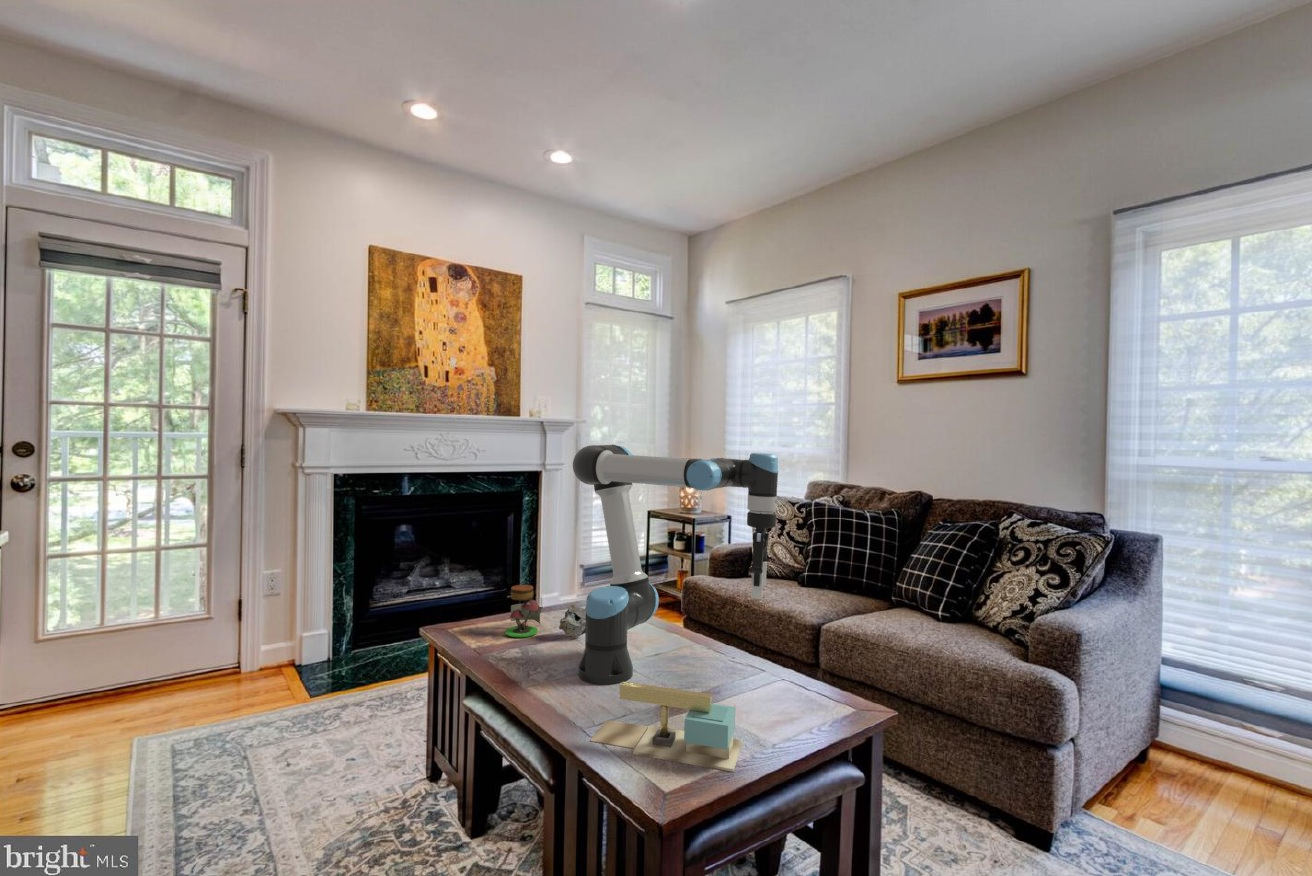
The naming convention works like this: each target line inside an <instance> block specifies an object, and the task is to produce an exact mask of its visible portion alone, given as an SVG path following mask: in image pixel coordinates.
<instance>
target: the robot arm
mask: <svg viewBox="0 0 1312 876" xmlns="http://www.w3.org/2000/svg"><path fill="white" fill-rule="evenodd" d="M778 464H779V461H778V456H777V455H776V454H775V453H764V452H763V453H762V452H751V453H750V454H749V458H748V459H736V458H724V457H716V458H715V457H712V458H710V459H701V458H699V459H697V458H682V457H681V458H680V457H668V456H666V457H665V456H651V455H633V453H632V452H631V451H630V450H629V449H628V448H626V447H624V446H622V445H617V444H599V445H597V444H590V445H587V446H584V447H582V448H581V449H579V450H578V451H577V452H576V453H575V456H574V458H573V460H572V470H573V473H574V475H575V477H576V478H577V479H578V480H579V481H580V482H581V483H584V484H585V485H590V486H593V489H594V493H595V494H597V495H598V496H599V497H600V501H601V506H602V507H601V508H602V512H603V513H602V514H603V519H604V525H605V531H606V538H607V545H608V549H609V550H608V551H609V554H610V555H609V556H610V563H611V569H612V574H613V575H612V578H611V580H610V581H609V585H608V586H607V585H606V586H604V587H603V586H601V587H597V588H595V589H593V590H592V591H590V592H589V593H588V594H587V596H586V601H585V602H586V603H585V608H584V609H585V611H586V630H585V633H584V634H585V636H584V638H585V641H584V642H585V643H584V650H583V652H582V656H581V659H580V662H579V664H578V671H577V675H578V678H579V680H580V681H583V682H584V683H586V684H587V683H588V684H590V685H595V686H612V685H613V686H615V685H620V684H621V683H622V682H623V681H624V682H629V681H630V679H632V677H633V674H634V666H633V664H632V660H631V655H630V653H629V649H628V630H630V629H632V628H634V627H636V626H639V625H641V624H642V625H643V624H644V623H646V622H647V621H648V620H649V619H651V618H652V617H653V616H655V614H656V612H657V611H658V608H659V602H660V601H659V600H660V598H659V594H658V591H657V589H656V587H655V586H653V584H652V583H651V582H650V581H649V580H650V579H649V576H648V574H646V573H645V572H644V571H643V570H642V564H641V557H640V552H639V545H638V539H637V534H636V527H635V522H634V517H633V510H632V504H631V499H630V491H631V489H632V487H633V484H643V485H652V486H653V485H655V486H664V487H665V486H667V487H677V488H689V489H695V490H697V491H711V490H714V489H721V488H727V487H728V488H729V487H732V488H744V489H745V488H746V489H747V491H748V492H747V504H746V505H747V506H746V507H747V508H746V509H747V510H749V511H748V512H747V515H746V517H747V518H746V525H747V526H748V527H751V528H755V531H754V532H753V533H752V541H753V542H752V558H751V559H752V560H751V568H749V569H748V573H751V583H750V584H751V586H750V599H758V600H762V599H763V587H766V586H767V568H768V567H767V565H768V564H767V563H768V562H770V557H768V544H769V538H770V533H768V529H774V528H775V527H776V525H777V514H776V513H775V512H776V511H777V504H780V501H779V500H778V499H777V497H778V479H779V478H778V476H779V465H778Z"/></svg>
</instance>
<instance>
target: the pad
mask: <svg viewBox="0 0 1312 876" xmlns="http://www.w3.org/2000/svg"><path fill="white" fill-rule="evenodd" d="M648 728H649V726H646V725H641V724H636V723H635V724H634V723H629V722H628V723H627V722H622V721H616V720H610V719H606V720H605V722H604V723H603V724H602V725H601V727H599V729H598V730H597V732H596V733H595V734H594V735H593V736H592V737H591V738H590V739H589V742H591V743H592V742H593V743H598V744H603V745H608V746H615V747H620V748H625V749H631V750H634V749H635V748H636V746H637V745H638V743H639V742H640V740H641V738H642V737H643V735H644V734H645V732H646V731H647V729H648Z"/></svg>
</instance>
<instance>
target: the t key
mask: <svg viewBox="0 0 1312 876" xmlns="http://www.w3.org/2000/svg"><path fill="white" fill-rule="evenodd" d="M619 699H621V700H626V701H633V702H638V703H645V704H652V705H659V706H660V727H661V736H660V737H662V738H668V728H669V707H672V708H679V709H683V710H684V709H685V710H697V711H703V712H710V711H711V709H712V704H713V703H712V702H713V693H705V692H700V691H693V690H686V689H680V688H679V689H678V688H670V687H663V686H657V685H649V684H645V683H636V682H631V681H630V682H629V681H626V682H624V681H623V682H622V683H620V684H619Z"/></svg>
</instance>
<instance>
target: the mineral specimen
mask: <svg viewBox="0 0 1312 876" xmlns="http://www.w3.org/2000/svg"><path fill="white" fill-rule="evenodd" d="M558 629H559V630H561V631H564V634H565V635H566V636H567V635H569V636H570V637H571V638H573V639H575V638H579V637H580V636H582V635H584V634H585V630H586V611H585V608H584V607H580V606H579V607H578V606H577V605H574V604H570V605H569V606H568V608H567V610H566V611H565V613H564V618H561V619H560V620H559V626H558Z"/></svg>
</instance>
